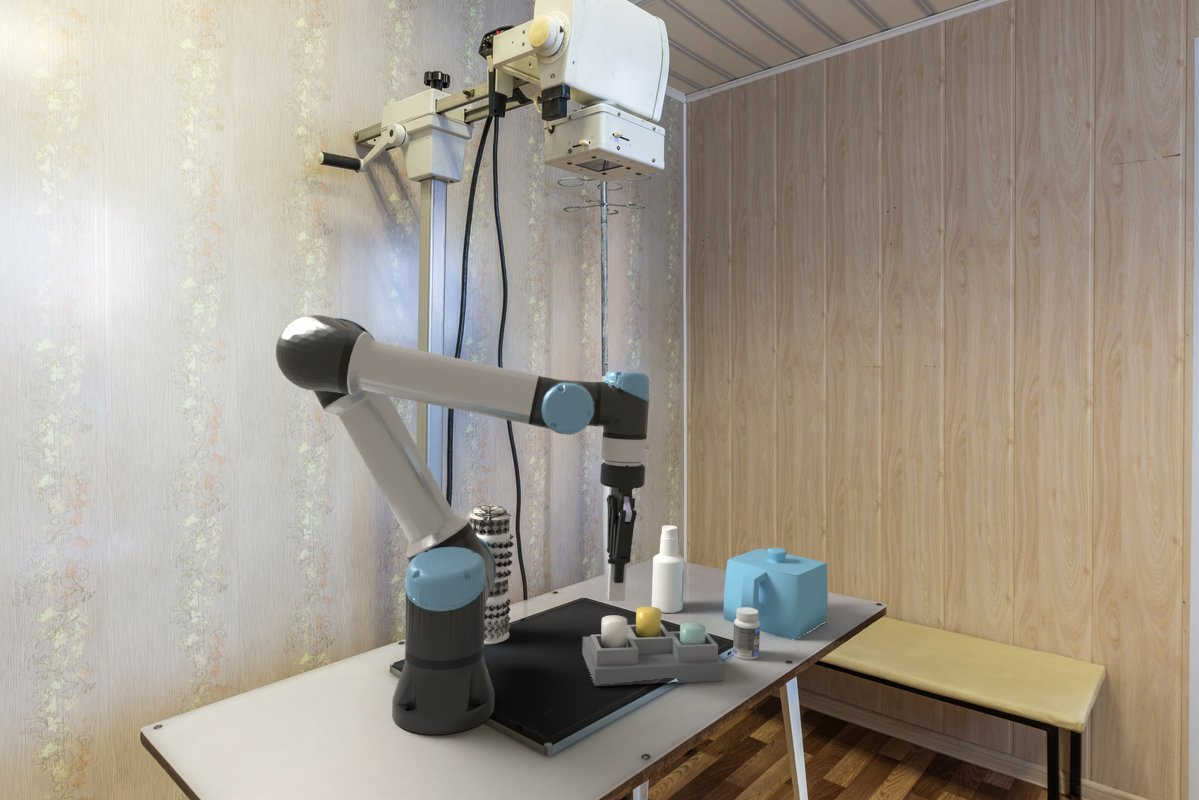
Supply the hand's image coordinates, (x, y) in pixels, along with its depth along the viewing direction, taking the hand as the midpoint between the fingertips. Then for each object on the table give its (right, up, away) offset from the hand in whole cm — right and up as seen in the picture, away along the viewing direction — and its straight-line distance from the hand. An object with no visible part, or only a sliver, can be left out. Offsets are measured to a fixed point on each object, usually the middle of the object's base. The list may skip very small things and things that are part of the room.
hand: (615, 599), depth 123 cm
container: (+35, -13, +29) cm, 47 cm away
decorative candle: (-24, -12, +16) cm, 31 cm away
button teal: (+13, -10, +3) cm, 17 cm away
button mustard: (+6, -7, +5) cm, 11 cm away
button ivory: (0, -8, 0) cm, 8 cm away
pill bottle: (+24, -13, +10) cm, 29 cm away
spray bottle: (+12, -12, +34) cm, 38 cm away
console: (+6, -13, +4) cm, 15 cm away
